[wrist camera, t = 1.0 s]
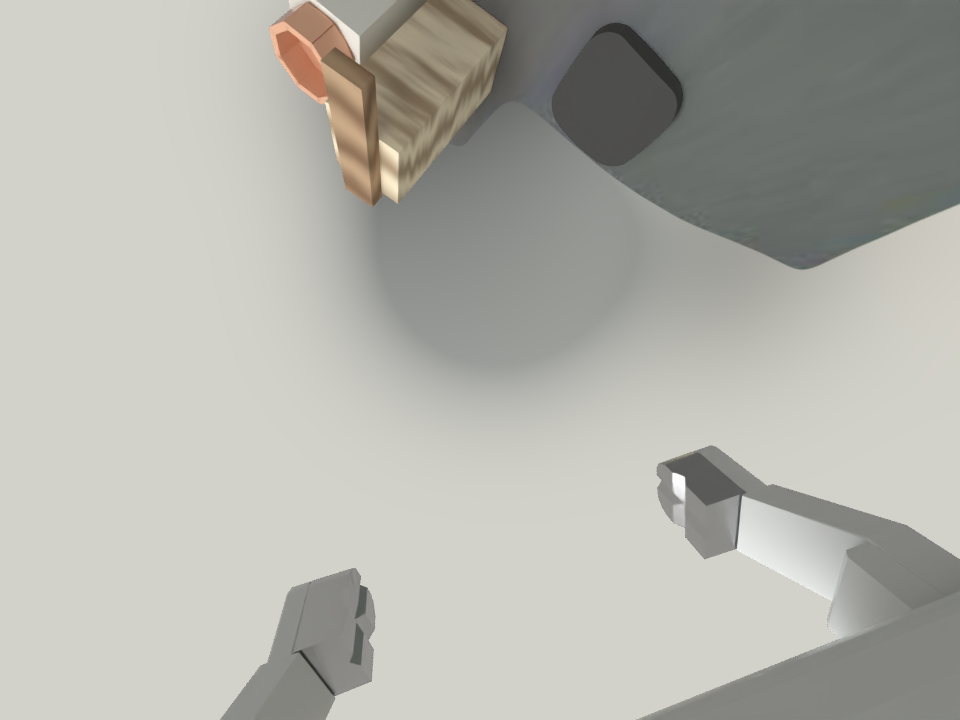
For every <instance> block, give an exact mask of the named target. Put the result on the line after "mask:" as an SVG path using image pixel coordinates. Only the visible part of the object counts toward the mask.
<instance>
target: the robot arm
mask: <svg viewBox="0 0 960 720" xmlns="http://www.w3.org/2000/svg"><path fill="white" fill-rule="evenodd" d="M657 476H658V477H659V478H660V479H661V480H662V481H661V483H660V485H659V486H658V488H657V489H658V497H659V500H660V503H661V506H662V508H663V509H664V511H665V513H666V514H667V516H668V517H669V518H670V519H671V521H672V522H673V523H675V524H677V525H679V526H682V527H684V528H685V536H686V538H687V539H688V541H690V543H691V544H692V545H693V546H694V547H695V549H696V550H697V551H698V552H699V553H700V555H701V556H702V557H703V558H704V559H707V558H710V557H713V556H716V555H719V554H722V553H725V552H728V551H731V550H733V549H737V551H739V552H741V553H742V554H744V555H746V556H748V557H750V558H752V559H754V560H756V561H757V562H759V563H761V564H763V565H765V566H767V567H769V568H771V569H773V570H774V571H776V572H778V573H780V574H782V575H784V576H786V577H787V578H789V579H791V580H793V581H795V582H797V583H799V584H801V585H802V586H804V587H806V588H808V589H810V590H812V591H814V592H816V593H817V594H819V595H821V596H823V597H825V598H827V599H829V600H831V601H832V604H831V607H830V611H829V615H828V618H827V626H828V628H829V629H830V630H831V631H832V632H833V633H834V634H835V635H836V636H837V637H838V638H839V639H838V640H835V641H833V642H831V643H828V644H825V645H823V646H820V647H818V648H816V649H813V650H810V651H808V652H805V653H803V654H800V655H798V656H795V657H793V658H790V659H788V660H785V661H783V662H780V663H778V664H775V665H773V666H770V667H768V668H765V669H763V670H760V671H758V672H755V673H753V674H750V675H748V676H745V677H743V678H740V679H737V680H735V681H732V682H730V683H727V684H725V685H722V686H720V687H718V688H715V689H712V690H710V691H707V692H705V693H702V694H700V695H697V696H695V697H692V698H690V699H687V700H685V701H682V702H680V703H677V704H675V705H672V706H670V707H667V708H665V709H662V710H660V711H657V712H655V713H652V714H650V715H647V716H645V717H642V718H640V719H637V720H960V559H958V558H957V557H955V556H954V555H952V554H951V553H949V552H947V551H946V550H944V549H943V548H941V547H940V546H938V545H937V544H935V543H933V542H932V541H930V540H929V539H927V538H926V537H924V536H922V535H921V534H919V533H918V532H916V531H915V530H913V529H912V528H910V527H908V526H907V525H904V524H901V523H897V522H894V521H891V520H888V519H884V518H881V517H878V516H875V515H871V514H868V513H865V512H862V511H858V510H855V509H852V508H849V507H845V506H842V505H839V504H836V503H832V502H829V501H826V500H823V499H819V498H816V497H813V496H810V495H806V494H803V493H800V492H797V491H793V490H789V489H786V488H783V487H780V486H777V485H774V484H772V485H768V486H767V485H765V484H764V483H763V482H761V481H760V480H759V479H757V478H756V477H755V476H754V475H752V474H751V473H750V472H748V471H747V470H746V469H744V468H743V467H742V466H741V465H739V464H738V463H736V462H735V461H734V460H733V459H731V458H730V457H729V456H728V455H726V454H725V453H724V452H722V451H721V450H720V449H718V448H717V447H715V446H708V447H705V448H702V449H699V450H697V451H694V452H690V453H687V454H684V455H682V456H679V457H676V458H673V459H670V460H668V461H665V462H662V463H659V464H658V466H657ZM360 580H361V576H360V574H359V573H358V571H357V570H356V568H352V569H349V570H346V571H342V572H339V573H336V574H333V575H329V576H326V577H323V578H320V579H316V580H314V581H311V582H308V583H305V584H301V585H298V586H295V587H292V588H291V590H290V591H289V593H288V594H287V596H286V600H285V603H284V607H283V610H282V614H281V617H280V621H279V624H278V628H277V631H276V635H275V639H274V642H273V645H272V648H271V652H270V655H269V659H268V662H267V663H266V664H263V665H261V666H260V667H259V668H258V670H257V671H256V672H255V674H254V675H253V676H252V678H251V679H250V680H249V682H248V683H247V684H246V686H245V687H244V688H243V690H242V691H241V693H240V694H239V695H238V697H237V698H236V699H235V701H234V702H233V703H232V705H231V706H230V707H229V708H228V710H227V711H226V713H225V714H224V715H223V717H222V718H221V719H220V720H325V719H326V717H327V715H328V713H329V711H330V709H331V706H332V704H333V702H334V700H335V697H334V696H336V695H339V694H341V693H344V692H346V691H349V690H351V689H354V688H356V687H359V686H361V685H363V684H366V683H369V682H371V681H372V666H373V651H374V650H373V647H372V646H371V644H370V643H369V641H368V640H369V638H370V636H371V635H372V633H373V631H374V629H375V611H374V603H373V599H372V596H371V594H370V592H369V590H368V588H366V587H364V586H361V585H360Z"/></svg>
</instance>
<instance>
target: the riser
mask: <svg viewBox="0 0 960 720" xmlns="http://www.w3.org/2000/svg"><path fill="white" fill-rule="evenodd" d="M427 1H428V0H289V5H290V9H292V8H294V7H296V6H298V5H301V4H303V3H305V2H306V3H308V4H311V5H313V6H315V7H317V8H319V9H320V10H321V11H323V12H324V13H325V14H326V15H327V16H328V17H329V18H330V19H331V20H332V21H333V22H334V23H335V25H336V26H337V27H338V29H339V30H340V31H341V33H342V34H343V36H344V38H345V39H346V41H347V43H348V45H349V47H350V50H351V52H352V55H353V58H354V61H355V62H357V63H358V64H359V65H362V64H363V63H364V62H366V61H367V60H368V59H369V58H370V57H371V56H372V55H373V54H374V53H375V52H376V51H377V50H378V49H379V48H380V47H381V46H382V45H383V44H384V43H385V42H386V41H387V40H388V39H389V38H390V37H391V36H392V35H393V34H394V33H395V32H396V31H397V30H398V29H399V28H400V27H401V26H402V25H403V24H404V23H405V22H406V21H407V20H408V19H409V18H410V17H411V16H412V15H413V14H414V13H415V12H416V11H417V10H419V9H420V8H421V7H422V6H423V5H424V4H425V3H426V2H427Z"/></svg>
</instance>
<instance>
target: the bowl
mask: <svg viewBox="0 0 960 720" xmlns="http://www.w3.org/2000/svg"><path fill="white" fill-rule="evenodd" d="M269 30H270V34H271V38H272V42H273V46H274V50H275V54H276V56H277V58H278V59H279V61H280V62H281V64H282V65H283V67H285V69H286V71H287V72H288V74H289V75H290V77H291V78H292V79H293V80H294V82H295V83H296V85H297V86H298V87H299V88H300V89H302V90H303V91H304V92H306V93H307V94H308V95H309V96H311V97H312V98H313V99H315V100H316V101H317V102H319V103H320V104H325V101H326V100H327V99H328V97H327V92H326V87H325V82H324V77H323V72H322V67H321V62H320V60H321V59H323V58H324V57H325V56H326V55H327V54H328V53H329V52H330V51H331V50H332V49H333V48H334V47H336V48H337V49H338V50H340V51H341V52H343V53H344V54H345V55H347V56H348V57H350V58H351V59H352V60H354V58H353V55H352V52H351V50H350V47H349V45H348V43H347V41H346V39H345V38H344V36H343V34H342V33H341V31H340V30H339V29H338V27H337V26H336V25H335V23H334V22H333V21H332V20H331V19H330V18H329V17H328V16H327V15H326V14H325V13H324V12H323V11H321V10H320V9H319V8H317V7H315V6H313V5H311V4H308V3H306V2H305V3H303V4H301V5H298V6H296V7H294V8H292V9H290V10H289V11H288V12H287V13H286V14H284V15H283V16H282V17H281V18H280V19H279V20H277V21H276V22H275V23H274V24H272V25H271V26H270V27H269Z"/></svg>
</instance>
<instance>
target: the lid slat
mask: <svg viewBox="0 0 960 720" xmlns="http://www.w3.org/2000/svg"><path fill="white" fill-rule="evenodd" d="M320 62H321V67H322V72H323V77H324V82H325V87H326V92H327V97H328V102H329V107H330V112H331V117H332V122H333V127H334V132H335V137H336V142H337V147H338V152H339V157H340V162H341V167H342V172H343V177H344V182H345V187H346V189H347V190H349V191H350V192H352V193H353V194H354V195H356V196H357V197H359V198H360V199H362V200H363V201H364V202H366V203H367V204H369V205H370V206H372V207H373V206H374V205H375V204H376V203H377V202H378V200H379V199H380V198H381V197H382V191H381V173H380V155H379V136H378V118H377V100H376V81H375V75H373V74H372V73H371V72H369V71H368V70H366V69H365V68H364V67H362V66H361V65H359V64H358V63H357V62H355V61H354V60H352V59H351V58H350V57H348V56H347V55H345V54H344V53H343V52H341V51H340V50H338V49H337V48H336V47H334V48H333V49H332V50H331V51H330V52H329V53H328V54H327V55H326V56H325V57H324V58H323V59H321V60H320Z"/></svg>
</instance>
